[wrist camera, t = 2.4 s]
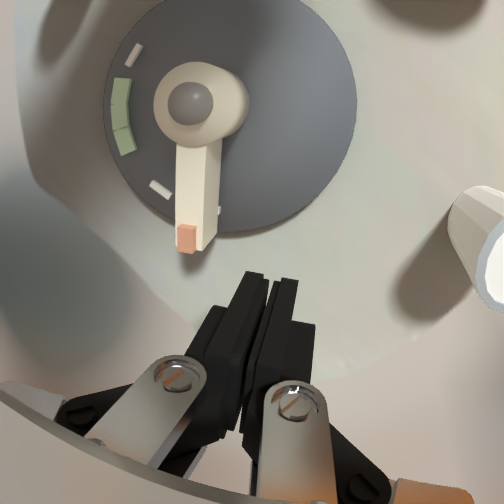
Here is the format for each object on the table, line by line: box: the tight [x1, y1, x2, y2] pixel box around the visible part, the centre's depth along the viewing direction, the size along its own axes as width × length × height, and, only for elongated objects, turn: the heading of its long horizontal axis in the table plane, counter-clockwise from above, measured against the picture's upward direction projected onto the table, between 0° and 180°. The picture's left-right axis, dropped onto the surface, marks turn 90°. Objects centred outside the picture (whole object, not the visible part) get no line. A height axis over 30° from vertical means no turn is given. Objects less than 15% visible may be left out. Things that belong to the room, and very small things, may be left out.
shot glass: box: [447, 186, 504, 313], centre depth 17 cm, size 7×7×7 cm
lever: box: [154, 62, 250, 254], centre depth 19 cm, size 11×5×4 cm, turn 175°
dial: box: [103, 0, 357, 232], centre depth 20 cm, size 18×18×2 cm
